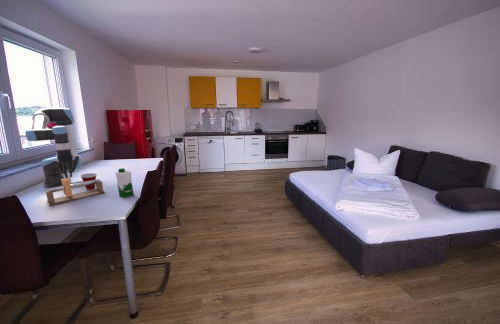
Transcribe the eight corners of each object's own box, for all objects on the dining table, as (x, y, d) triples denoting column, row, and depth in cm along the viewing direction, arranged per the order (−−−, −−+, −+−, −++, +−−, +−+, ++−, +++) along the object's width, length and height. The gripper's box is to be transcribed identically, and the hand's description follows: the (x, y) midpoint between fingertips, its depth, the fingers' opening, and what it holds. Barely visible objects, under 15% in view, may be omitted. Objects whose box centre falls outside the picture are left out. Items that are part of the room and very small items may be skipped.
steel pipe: (49, 192, 155) (48, 187, 154) (98, 182, 176) (97, 178, 175) (49, 193, 153) (48, 188, 152) (99, 183, 174) (98, 179, 173)
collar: (63, 193, 164) (61, 178, 162) (69, 192, 166) (66, 178, 164) (67, 197, 157) (64, 181, 154) (72, 195, 159) (69, 180, 157)
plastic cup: (90, 191, 178) (88, 176, 175) (79, 190, 180) (76, 176, 178) (102, 187, 188) (100, 173, 186) (91, 186, 191) (88, 172, 188)
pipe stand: (47, 201, 158) (44, 189, 156) (100, 190, 181) (98, 179, 179) (50, 206, 150) (47, 193, 148) (105, 193, 173) (103, 182, 171)
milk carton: (128, 192, 174) (125, 167, 170) (135, 194, 169) (132, 168, 165) (117, 196, 167) (113, 170, 163) (124, 198, 162) (120, 171, 158)
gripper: (52, 151, 149) (59, 185, 154) (76, 148, 158) (82, 181, 163) (50, 149, 154) (57, 183, 159) (73, 147, 163) (79, 179, 168)
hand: (69, 182), depth 161 cm, fingers closed
